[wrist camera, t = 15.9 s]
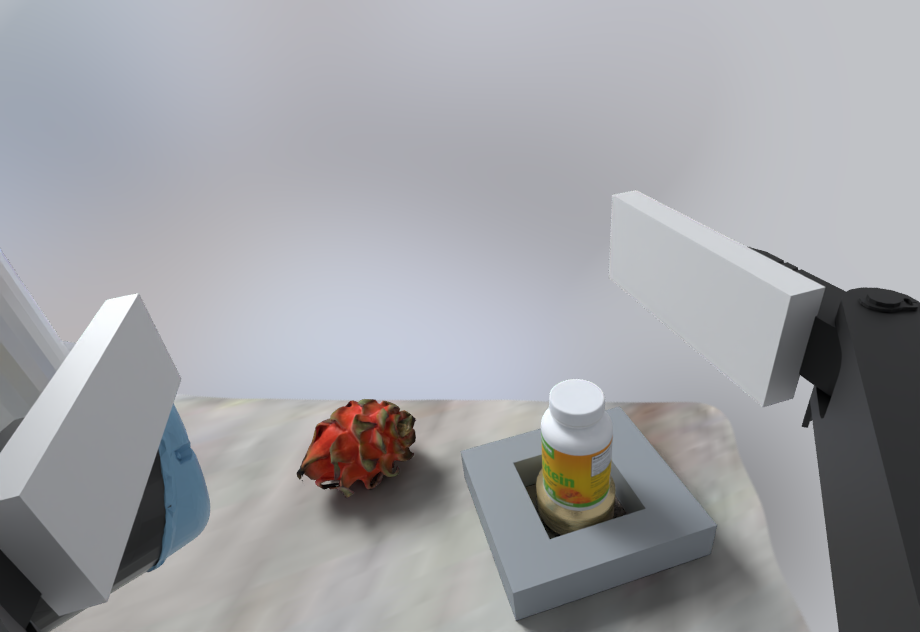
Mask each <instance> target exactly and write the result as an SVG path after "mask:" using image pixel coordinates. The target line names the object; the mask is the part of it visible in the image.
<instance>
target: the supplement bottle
mask: <svg viewBox="0 0 920 632" xmlns="http://www.w3.org/2000/svg"><path fill="white" fill-rule="evenodd" d="M541 442H542V469H543V485H544V489H545V491H546V493H547V495H548V497H549V498H550V499H551V500H552V501H553V502H554V503H556V504H557V505H559V506H561V507H563V508H565V509H569V510H574V511H585V510H590V509H593V508H595V507H597V506H598V505H600V504H601V503H602V502H603V501H604V500H605V499H606V497H607V495H608V492H609V488H610V476H611V458H612V442H613V424H612V420H611V418H610V416H609V415H608V413H607V412H606V411H605V397H604V394H603V391H602V390H601V389H600V388H599V387H598V386H597V385H595V384H594V383H592V382H589V381H586V380H581V379H570V380H565V381H562V382H560V383H558V384H556V385H555V386H554V387H553V388H552V390H551V391H550V394H549V408H548V409H547V410H546V412H545V413H544V415H543V417H542V421H541Z"/></svg>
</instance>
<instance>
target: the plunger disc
mask: <svg viewBox="0 0 920 632" xmlns="http://www.w3.org/2000/svg"><path fill="white" fill-rule="evenodd" d="M536 489H537V507H538V512H539V514H540V517H541V518H542V520H543V521H544V523H545V524H546V525H547V526H548V527H549V528H550V529H552V530H553V531H555V532H556V533H558V534H560V535H565V534H568V533H571V532H574V531H577V530H580V529H584V528H587V527H590V526H593V525H596V524H599V523H602V522H605V521H609V520H612V519H613V516H614V507H615V491H616V490H615V483H614V480H613V478H612V476H610V488H609V492H608V495H607V497H606V499H605V500H604V501H603V502H602V503H601V504H600V505H598V506H597V507H595V508H593V509H590V510H585V511H574V510H569V509H565V508H563V507H561V506H559V505H557V504H556V503H554V502H553V501H552V500H551V499H550V498H549V497H548V495H547V493H546V491H545V489H544V485H543V469H541V471H540V472H539V474H538V477H537V482H536Z"/></svg>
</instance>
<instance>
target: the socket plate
mask: <svg viewBox="0 0 920 632" xmlns="http://www.w3.org/2000/svg"><path fill="white" fill-rule="evenodd" d="M605 411H606V412H607V413H608V415H609V416H610V418H611V420H612V424H613V442H612V458H611V476H612V478H613V480H614V483H615V490H616V491H615V496H616V497H617V499H618V500H619V502H620V503H621V505H622V506H623V508H624V509H625V511H626V512H627V515H624V516H621V517H618V518H615V519H612V520H609V521H605V522H602V523H599V524H596V525H593V526H590V527H587V528H584V529H580V530H577V531H574V532H571V533H568V534H565V535H562V536H559V537H555V538H552V539H549V537H548V535H547V533H546V531H545V528H544V526H543V524H542V522H541V520H540V518H539V516H538V514H537V512H536V510H535V508H534V505H533V503H532V501H531V499H530V497H529V495H528V493H527V491H526V489H525V487H526V486H529V485H532V484H536V482H537V477H538V474H539V472H540V471H541V469H542V442H541V429H538V430H534V431H531V432H527V433H524V434H520V435H516V436H513V437H509V438H506V439H502V440H499V441H495V442H492V443H488V444H484V445H481V446H477V447H474V448H470V449H467V450H463V451H461V457H462V463H463V469H464V476H465V480H466V482H467V485H468V488H469V491H470V494H471V496H472V499H473V502H474V505H475V508H476V510H477V513H478V516H479V519H480V522H481V524H482V527H483V530H484V533H485V536H486V538H487V541H488V544H489V547H490V550H491V552H492V555H493V558H494V561H495V564H496V566H497V569H498V572H499V575H500V578H501V580H502V583H503V586H504V589H505V592H506V594H507V597H508V600H509V603H510V606H511V608H512V611H513V614H514V617H515V620H516V621H517V620H520V619H523V618H526V617H528V616H531V615H534V614H537V613H540V612H543V611H546V610H549V609H552V608H555V607H558V606H560V605H563V604H566V603H569V602H572V601H575V600H578V599H581V598H584V597H587V596H590V595H592V594H595V593H598V592H601V591H604V590H607V589H610V588H613V587H616V586H619V585H622V584H624V583H627V582H630V581H633V580H636V579H639V578H642V577H645V576H648V575H651V574H654V573H656V572H659V571H662V570H665V569H668V568H671V567H674V566H677V565H680V564H683V563H686V562H688V561H691V560H694V559H697V558H700V557H703V556H706V555H709V554H711V550H712V545H713V541H714V537H715V532H716V528H717V524H716V523H715V522H714V521H713V519H712V518H711V517H710V516H709V515H708V513H707V512H706V511H705V510H704V508H703V507H702V506H701V505H700V504H699V502H698V501H697V500H696V499H695V498H694V496H693V495H692V494H691V493H690V491H689V490H688V489H687V488H686V487H685V485H684V484H683V483H682V482H681V481H680V479H679V478H678V477H677V476H676V474H675V473H674V472H673V471H672V470H671V468H670V467H669V466H668V465H667V463H666V462H665V461H664V460H663V459H662V457H661V456H660V455H659V454H658V453H657V451H656V450H655V449H654V448H653V446H652V445H651V444H650V443H649V442H648V440H647V439H646V438H645V437H644V436H643V434H642V433H641V432H640V431H639V429H638V428H637V427H636V426H635V425H634V423H633V422H632V421H631V420H630V418H629V417H628V416H627V415H626V414H625V412H624V411H623V410H622V409H621V408H620V406H619V407H616V408H612V409H609V410H605Z"/></svg>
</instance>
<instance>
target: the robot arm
mask: <svg viewBox="0 0 920 632" xmlns="http://www.w3.org/2000/svg"><path fill="white" fill-rule="evenodd" d="M610 237H611V238H610V261H609V279H611V280H612V281H613V282H614V283H615V284H617V285H618V286H619V287H620V288H621V289H623V290H624V291H625V292H626V293H627V294H629V295H630V296H631V297H632V298H633V299H635V300H636V301H637V302H638V303H639V304H640V305H642V306H643V307H644V308H645V309H646V310H648V311H649V312H650V313H651V314H652V315H653V316H655V317H656V318H657V319H658V320H659V321H661V322H662V323H663V324H664V325H665V326H667V327H668V328H669V329H670V330H671V331H672V332H674V333H675V334H676V335H677V336H678V337H680V338H681V339H682V340H683V341H684V342H686V343H687V344H688V345H689V346H690V347H692V348H693V349H694V350H695V351H696V352H697V353H699V354H700V355H701V356H702V357H703V358H705V359H706V360H707V361H708V362H709V363H711V364H712V365H713V366H714V367H715V368H716V369H718V370H719V371H720V372H721V373H722V374H724V375H725V376H726V377H727V378H728V379H730V380H731V381H732V382H733V383H734V384H736V385H737V386H738V387H739V388H740V389H741V390H743V391H744V392H745V393H746V394H747V395H749V396H750V397H751V398H752V399H754V400H755V401H756V402H757V403H758V404H759V405H760V406H762V407H765V406H769V405H772V404H776V403H779V402H782V401H786V400H789V399H793V397H794V394H795V390H796V387H797V384H798V380H799V377H800V375H801V376H802V377H804V378H805V379H806V380H808V381H809V382H811V383H812V384H813V385H814V388H813V391H812V394H811V397H810V400H809V404H808V407H807V410H806V414H805V416H804V420H803V423H802V427H808V425H809V422H810V421H812V420H813V428H814V436H815V444H816V451H817V459H818V468H819V476H820V484H821V491H822V499H823V508H824V516H825V524H826V531H827V540H828V548H829V556H830V564H831V572H832V580H833V588H834V596H835V604H836V612H837V620H838V628H839V632H920V302H919V301H917V300H915V299H913V298H911V297H909V296H908V295H905V294H902V293H898V292H895V291H892V290H886V289H880V288H857V289H851V290H849V291H847V292H845V291H844V290H842V289H840V288H838V287H836V286H834V285H831V284H830V283H828V282H826V281H824V280H821V279H820V278H818V277H815V276H814V275H812V274H810V273H808V272H806V271H804V270H798V267H796V266H794V265H792V264H789V263H788V262H787V263H784V261H783V260H782V259H779V258H778V257H776V256H774V255H772V254H770V253H768V252H765V251H761V250H758V249H754V248H750V247H746V246H744V245H742V244H740V243H738V242H736V241H734V240H732V239H730V238H729V237H727V236H724V235H723V234H720V233H719V232H717V231H715V230H713V229H711V228H709V227H707V226H705V225H703V224H701V223H699V222H697V221H695V220H693V219H691V218H689V217H687V216H686V215H684V214H681V213H679V212H678V211H676V210H674V209H672V208H670V207H668V206H666V205H664V204H662V203H660V202H658V201H656V200H654V199H652V198H650V197H648V196H646V195H644V194H643V193H640V192H639V191H637V190H634V191H629V192H624V193H619V194H615V195H612V214H611V236H610ZM180 382H181V377H180V375H179V373H178V371H177V369H176V367H175V365H174V363H173V361H172V359H171V357H170V355H169V353H168V351H167V349H166V347H165V345H164V343H163V341H162V339H161V337H160V335H159V333H158V331H157V329H156V327H155V325H154V323H153V321H152V319H151V317H150V315H149V313H148V311H147V309H146V307H145V305H144V303H143V301H142V299H141V297H140V295H139V293H137V294H132V295H127V296H123V297H118V298H114V299H108V300H106V301H105V303H104V304H103V305H102V307H101V308H100V310H99V311H98V313H97V314H96V315H95V317H94V319H93V320H92V321H91V323H90V324H89V326H88V327H87V329H86V330H85V331H84V333H83V334H82V336H81V337H80V339H79V340H78V342H77V343H73V342H68V341H62V340H61V339H60V337H59V336H58V334H57V333H56V332H55V330H54V328H53V327H52V325H51V324H50V322H49V321H48V319H47V318H46V316H45V315H44V313H43V312H42V310H41V309H40V307H39V306H38V304H37V303H36V301H35V300H34V298H33V297H32V295H31V294H30V293H29V291H28V289H27V288H26V286H25V285H24V283H23V282H22V280H21V279H20V277H19V276H18V274H17V273H16V272H15V270H14V269H13V267H12V265H11V264H10V262H9V261H8V259H7V258H6V256H5V255H4V253H3V252H2V250H1V249H0V632H50V631H51V630H53V629H55V628H56V627H58V626H59V625H61V624H62V623H64V622H66V621H67V620H69V619H70V618H72V617H74V616H75V615H77V614H78V613H80V612H82V611H83V610H85V609H86V608H88V607H92V606H95V605H98V604H102V603H105V602H107V601H108V598H109V595H110V594H111V593H112V592H114V591H116V590H117V589H119V588H120V587H122V586H124V585H125V584H127V583H129V582H130V581H132V580H134V579H135V578H137V577H138V576H140V575H142V574H143V573H145V572H150V571H152V570H154V569H156V568H158V567H159V566H161V565H162V564H163V563H164V562H165V560H166V558H167V557H169V556H170V555H172V554H173V553H175V552H176V551H177V550H179V549H180V548H182V547H183V546H185V545H186V544H188V543H189V542H191V541H192V540H193V539H195V538H196V537H197V536H198V535H199V534H200V533H201V532H202V531H203V530H204V528H205V526H206V525H207V522H208V520H209V516H210V500H209V494H208V490H207V486H206V483H205V479H204V476H203V473H202V470H201V467H200V465H199V462H198V459H197V457H196V455H195V453H194V451H193V450H192V449H191V448H190V441H189V439H188V436H187V432H186V429H185V427H184V424H183V422H182V420H181V418H180V416H179V414H178V411H177V409H176V407H175V405H174V400H175V397H176V394H177V390H178V387H179V385H180Z"/></svg>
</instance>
